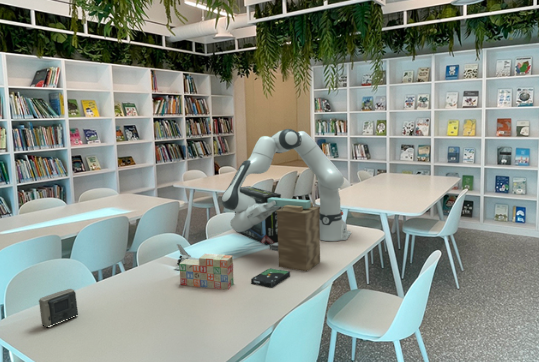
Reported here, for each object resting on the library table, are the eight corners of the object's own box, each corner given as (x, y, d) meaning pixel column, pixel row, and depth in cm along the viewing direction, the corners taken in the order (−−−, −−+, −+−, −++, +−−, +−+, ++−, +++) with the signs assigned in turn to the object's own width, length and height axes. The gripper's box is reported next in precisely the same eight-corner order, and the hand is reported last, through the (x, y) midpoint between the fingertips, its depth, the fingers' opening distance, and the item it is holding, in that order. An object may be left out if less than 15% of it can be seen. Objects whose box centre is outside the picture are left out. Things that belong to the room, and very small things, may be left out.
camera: (72, 313, 155) (70, 286, 153) (80, 317, 151) (78, 290, 150) (39, 325, 146) (36, 297, 145) (47, 330, 142) (43, 301, 141)
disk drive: (272, 289, 172) (290, 277, 184) (272, 283, 172) (290, 270, 184) (250, 285, 177) (269, 273, 190) (250, 278, 177) (269, 267, 189)
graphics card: (269, 244, 221) (295, 233, 241) (269, 251, 222) (295, 239, 242) (285, 247, 215) (310, 235, 236) (285, 253, 216) (310, 241, 236)
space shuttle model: (214, 276, 188) (213, 254, 186) (167, 270, 198) (166, 248, 196) (232, 265, 202) (231, 244, 200) (187, 259, 212) (186, 239, 210)
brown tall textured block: (293, 257, 208) (291, 200, 204) (321, 262, 201) (320, 202, 197) (277, 266, 196) (276, 206, 192) (306, 272, 188) (305, 208, 184)
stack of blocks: (180, 285, 178) (178, 256, 176) (187, 279, 184) (185, 251, 182) (228, 289, 172) (227, 259, 170) (234, 284, 178) (232, 255, 176)
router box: (234, 231, 259) (232, 187, 255) (250, 228, 265) (249, 185, 261) (266, 245, 229) (264, 195, 225) (283, 242, 235) (282, 193, 231)
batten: (272, 203, 204) (272, 197, 204) (310, 207, 194) (310, 200, 193) (267, 205, 201) (267, 198, 200) (306, 208, 190) (306, 202, 190)
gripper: (241, 211, 199) (263, 198, 191) (265, 203, 216) (286, 191, 208) (248, 224, 198) (270, 211, 190) (271, 214, 215) (292, 202, 208)
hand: (278, 200), depth 200 cm, fingers closed on batten, 4 cm apart
